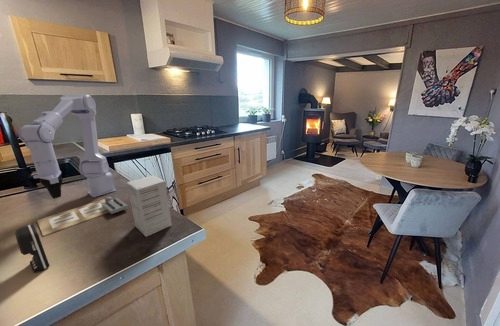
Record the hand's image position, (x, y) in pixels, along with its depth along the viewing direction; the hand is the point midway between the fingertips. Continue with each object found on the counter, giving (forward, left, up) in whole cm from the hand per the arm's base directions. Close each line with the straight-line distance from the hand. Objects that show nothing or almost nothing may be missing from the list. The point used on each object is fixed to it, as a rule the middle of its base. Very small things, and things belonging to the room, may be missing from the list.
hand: (56, 197), depth 76 cm
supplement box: (-20, +29, -10) cm, 36 cm away
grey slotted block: (-15, +5, -9) cm, 18 cm away
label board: (-5, 0, -9) cm, 11 cm away
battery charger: (+9, +23, -10) cm, 27 cm away
